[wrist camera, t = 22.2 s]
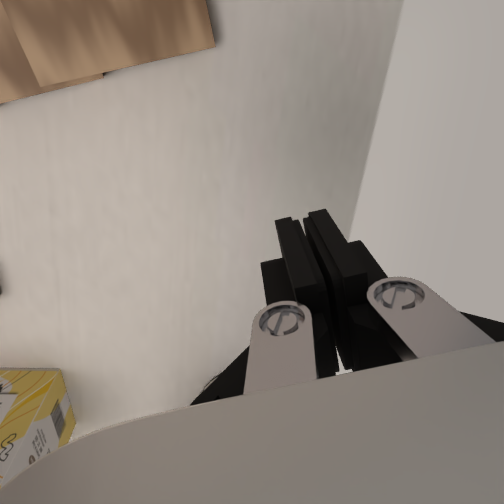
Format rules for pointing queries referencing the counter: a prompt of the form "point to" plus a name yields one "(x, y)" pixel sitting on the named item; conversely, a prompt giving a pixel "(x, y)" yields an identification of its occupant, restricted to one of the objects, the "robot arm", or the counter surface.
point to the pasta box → (31, 417)
